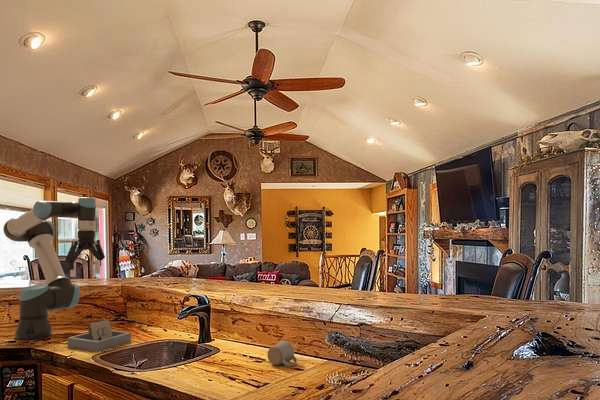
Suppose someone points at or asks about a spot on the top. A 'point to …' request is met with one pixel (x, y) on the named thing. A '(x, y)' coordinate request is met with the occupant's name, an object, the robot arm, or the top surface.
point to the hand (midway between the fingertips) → (85, 275)
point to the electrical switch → (100, 330)
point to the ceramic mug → (282, 354)
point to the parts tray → (97, 346)
